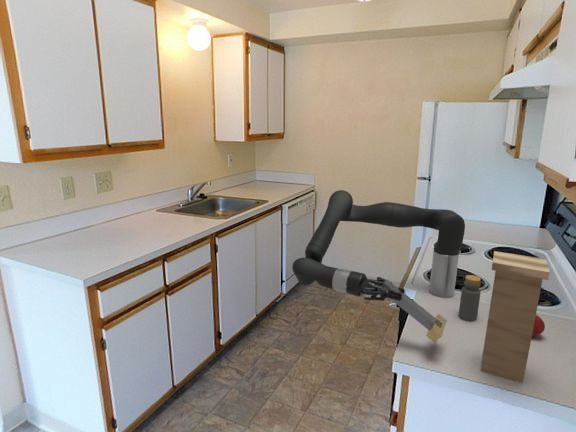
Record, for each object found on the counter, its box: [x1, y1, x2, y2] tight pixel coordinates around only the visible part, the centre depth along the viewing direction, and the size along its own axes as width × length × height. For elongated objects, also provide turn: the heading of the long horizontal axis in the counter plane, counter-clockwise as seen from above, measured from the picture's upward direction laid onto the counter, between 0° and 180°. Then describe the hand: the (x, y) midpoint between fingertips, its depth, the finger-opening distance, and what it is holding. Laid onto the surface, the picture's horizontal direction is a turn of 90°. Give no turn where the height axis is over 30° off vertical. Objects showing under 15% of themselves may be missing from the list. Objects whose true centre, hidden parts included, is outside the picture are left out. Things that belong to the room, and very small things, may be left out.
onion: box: [532, 313, 546, 337], centre depth 119 cm, size 6×6×8 cm
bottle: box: [458, 274, 482, 322], centre depth 129 cm, size 6×6×15 cm
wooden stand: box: [480, 250, 550, 384], centre depth 100 cm, size 10×12×32 cm
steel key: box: [381, 279, 448, 344], centre depth 113 cm, size 10×21×3 cm
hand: (402, 294), depth 113 cm, fingers closed on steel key, 3 cm apart
